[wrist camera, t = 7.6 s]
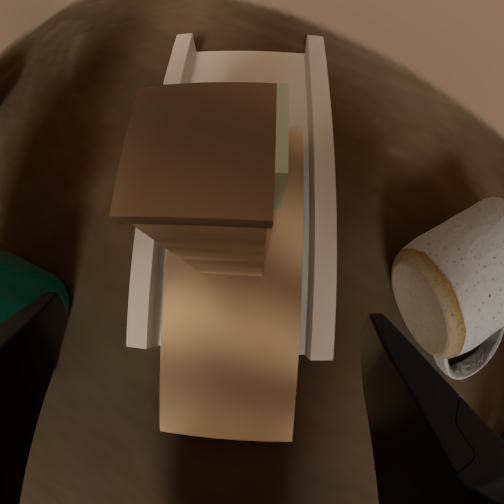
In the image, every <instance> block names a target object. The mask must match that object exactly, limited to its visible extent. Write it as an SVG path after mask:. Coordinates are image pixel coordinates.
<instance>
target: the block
mask: <svg viewBox="0 0 504 504" xmlns="http://www.w3.org/2000/svg"><path fill="white" fill-rule="evenodd" d="M198 83H202V82H198ZM258 83H263V82H258ZM288 156H289V94H288V84H283V83H277V105H276V151H275V187H274V209H281V205H282V201H283V196H284V191H285V187H286V182H287V177H288Z"/></svg>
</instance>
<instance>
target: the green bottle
mask: <svg viewBox="0 0 504 504" xmlns="http://www.w3.org/2000/svg"><path fill="white" fill-rule="evenodd" d="M47 292H56V293H59V294H60V295H61V296H62V299H63V301H64V303H65V306H66V308H67V310H68V311H69V296H68V293H67V290H66V287H65V285H64V284H63V283H62V281H61V280H60V279H59V277H58V276H56V275H54V274H52V273H50V272H48V271H46V270H44V269H42V268H40V267H39V266H37V265H35V264H33V263H31V262H29V261H27V260H25V259H24V258H22V257H20V256H18V255H16V254H14V253H11V252H8V251H4V250H1V249H0V323H2V322H3V321H5V320H6V319H8V318H9V317H11V316H12V315H13V314H15V313H16V312H18V311H19V310H21V309H22V308H24V307H25V306H27V305H28V304H30V303H31V302H33V301H34V300H36V299H37V298H39V297H41V296H42V295H44V294H45V293H47ZM53 372H54V371H53Z"/></svg>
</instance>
